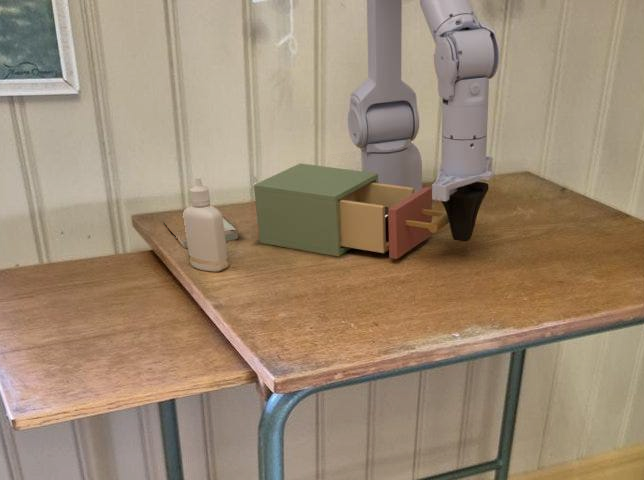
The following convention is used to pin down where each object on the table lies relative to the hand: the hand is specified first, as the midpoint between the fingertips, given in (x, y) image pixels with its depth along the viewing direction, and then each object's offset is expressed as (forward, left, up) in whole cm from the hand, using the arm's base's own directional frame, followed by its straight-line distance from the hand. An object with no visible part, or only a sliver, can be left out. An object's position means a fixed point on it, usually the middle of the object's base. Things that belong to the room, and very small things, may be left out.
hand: (462, 239), depth 122 cm
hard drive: (+16, -38, -3) cm, 41 cm away
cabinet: (+6, -22, -3) cm, 23 cm away
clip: (+3, -11, -1) cm, 12 cm away
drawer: (+3, -10, -2) cm, 11 cm away
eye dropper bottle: (+24, -25, -3) cm, 35 cm away
